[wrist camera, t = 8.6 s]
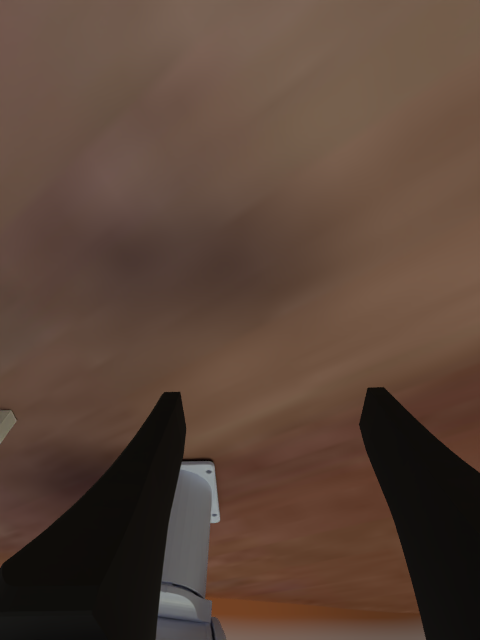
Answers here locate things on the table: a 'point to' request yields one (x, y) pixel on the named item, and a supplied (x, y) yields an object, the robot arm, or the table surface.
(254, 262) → the table surface
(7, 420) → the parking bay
